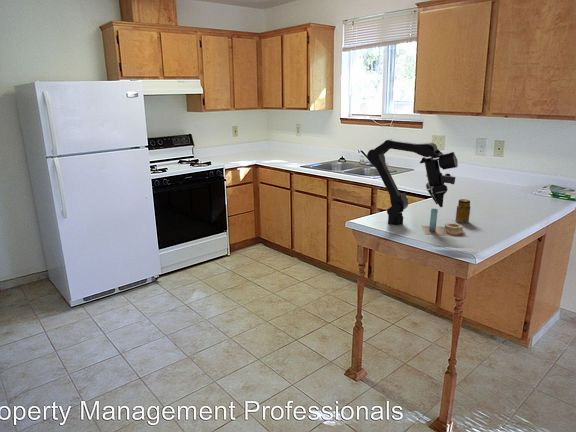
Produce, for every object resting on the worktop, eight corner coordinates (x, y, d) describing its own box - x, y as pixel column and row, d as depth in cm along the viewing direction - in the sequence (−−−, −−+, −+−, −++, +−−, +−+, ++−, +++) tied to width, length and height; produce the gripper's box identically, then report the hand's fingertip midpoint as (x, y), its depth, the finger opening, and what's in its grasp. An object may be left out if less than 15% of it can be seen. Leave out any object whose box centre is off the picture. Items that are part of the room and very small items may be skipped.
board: (424, 237, 190) (425, 234, 190) (420, 228, 202) (421, 225, 202) (467, 239, 187) (467, 236, 187) (460, 229, 200) (461, 227, 199)
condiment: (457, 221, 213) (460, 197, 210) (475, 224, 207) (478, 200, 204) (451, 224, 208) (454, 200, 205) (469, 228, 202) (472, 203, 199)
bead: (446, 233, 191) (447, 227, 190) (443, 228, 197) (444, 222, 196) (462, 234, 190) (463, 228, 189) (459, 229, 196) (460, 223, 195)
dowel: (429, 231, 194) (431, 210, 191) (428, 229, 196) (430, 208, 194) (436, 231, 193) (438, 210, 190) (435, 229, 196) (437, 208, 193)
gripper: (456, 168, 179) (463, 205, 181) (447, 166, 197) (453, 199, 199) (429, 174, 181) (436, 210, 183) (422, 171, 200) (429, 204, 202)
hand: (439, 205), depth 192 cm, fingers open, 9 cm apart
